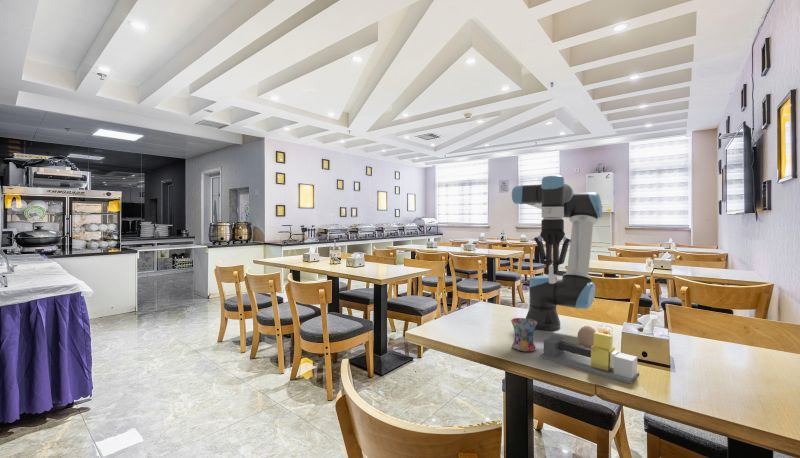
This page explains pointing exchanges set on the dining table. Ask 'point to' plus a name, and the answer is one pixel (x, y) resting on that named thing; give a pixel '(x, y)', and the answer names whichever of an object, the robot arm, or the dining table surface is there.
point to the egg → (586, 336)
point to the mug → (523, 334)
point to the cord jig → (619, 362)
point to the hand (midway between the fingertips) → (552, 282)
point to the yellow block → (601, 351)
